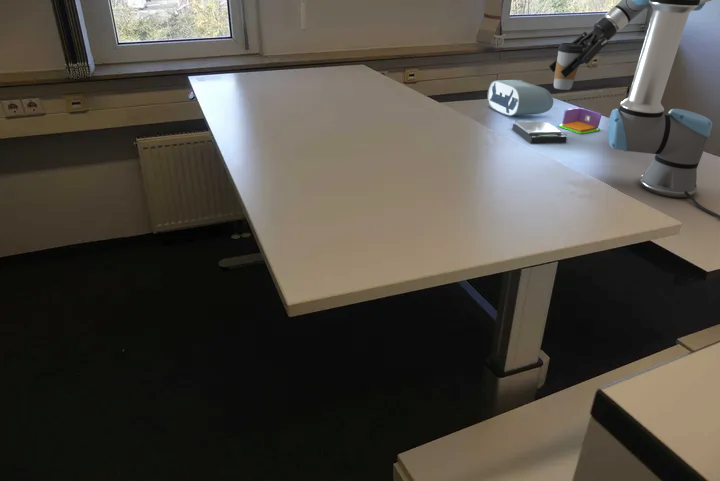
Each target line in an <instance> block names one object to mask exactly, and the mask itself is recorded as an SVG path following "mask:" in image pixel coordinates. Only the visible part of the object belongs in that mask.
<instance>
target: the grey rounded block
mask: <svg viewBox="0 0 720 481" xmlns="http://www.w3.org/2000/svg"><path fill="white" fill-rule="evenodd" d="M486 93H487V94H486V95H487V96H486V99H487V103H488V105H489V107H490V108H492V109H493V110H494V111H496V112H498V113H500V114H502V115H506V116H510V117H511V116H522V115H523V116H524V115H539V114H540V115H541V114H543V113H547V112H548V111H550V110H551V109H552V108H553V106H554V98H553V97H554V96H553V95H552V93H551V92H550V91H549V90H548V89H547V88H544V87H542V86H539V85H536V84H532V83H529V82H527V81H523V80H522V79H501V80H493V81H492V82H491V83H490V84H489V86H488V89H487V92H486Z"/></svg>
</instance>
